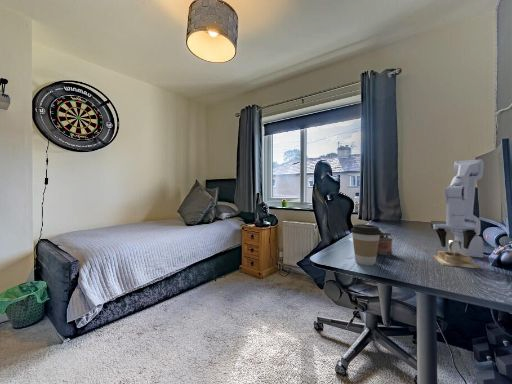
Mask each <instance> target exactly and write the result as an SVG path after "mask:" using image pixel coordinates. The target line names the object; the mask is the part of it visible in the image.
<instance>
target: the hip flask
mask: <svg viewBox="0 0 512 384" xmlns="http://www.w3.org/2000/svg"><path fill="white" fill-rule="evenodd" d="M391 235H392V233H391V232H383V231H381V235H380V237H379V244H378V252H377V255H386V256H391V255H393V250H392V249H393V237H391ZM389 236H390V237H389Z"/></svg>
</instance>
